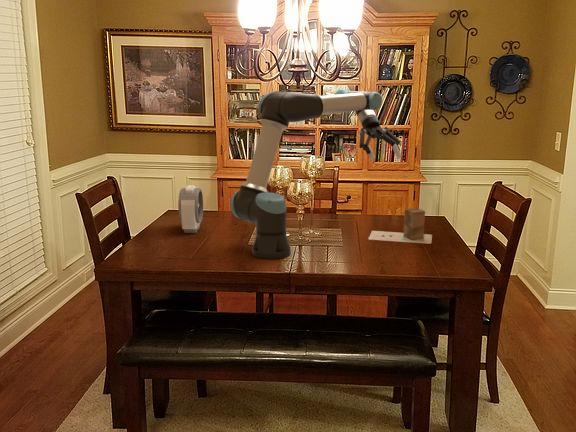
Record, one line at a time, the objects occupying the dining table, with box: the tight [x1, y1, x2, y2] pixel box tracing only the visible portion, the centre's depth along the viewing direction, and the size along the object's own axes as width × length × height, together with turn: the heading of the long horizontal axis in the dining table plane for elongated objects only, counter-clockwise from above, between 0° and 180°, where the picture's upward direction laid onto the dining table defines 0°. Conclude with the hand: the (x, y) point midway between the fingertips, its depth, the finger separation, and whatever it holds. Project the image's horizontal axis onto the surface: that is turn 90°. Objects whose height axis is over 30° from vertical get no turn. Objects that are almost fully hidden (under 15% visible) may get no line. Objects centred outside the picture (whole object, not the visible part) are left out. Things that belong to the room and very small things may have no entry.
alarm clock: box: [177, 184, 204, 234], centre depth 263 cm, size 18×8×20 cm, turn 179°
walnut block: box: [403, 207, 426, 240], centre depth 247 cm, size 6×6×12 cm
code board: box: [367, 230, 433, 245], centre depth 250 cm, size 14×26×1 cm, turn 75°
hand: (386, 158), depth 254 cm, fingers open, 13 cm apart
